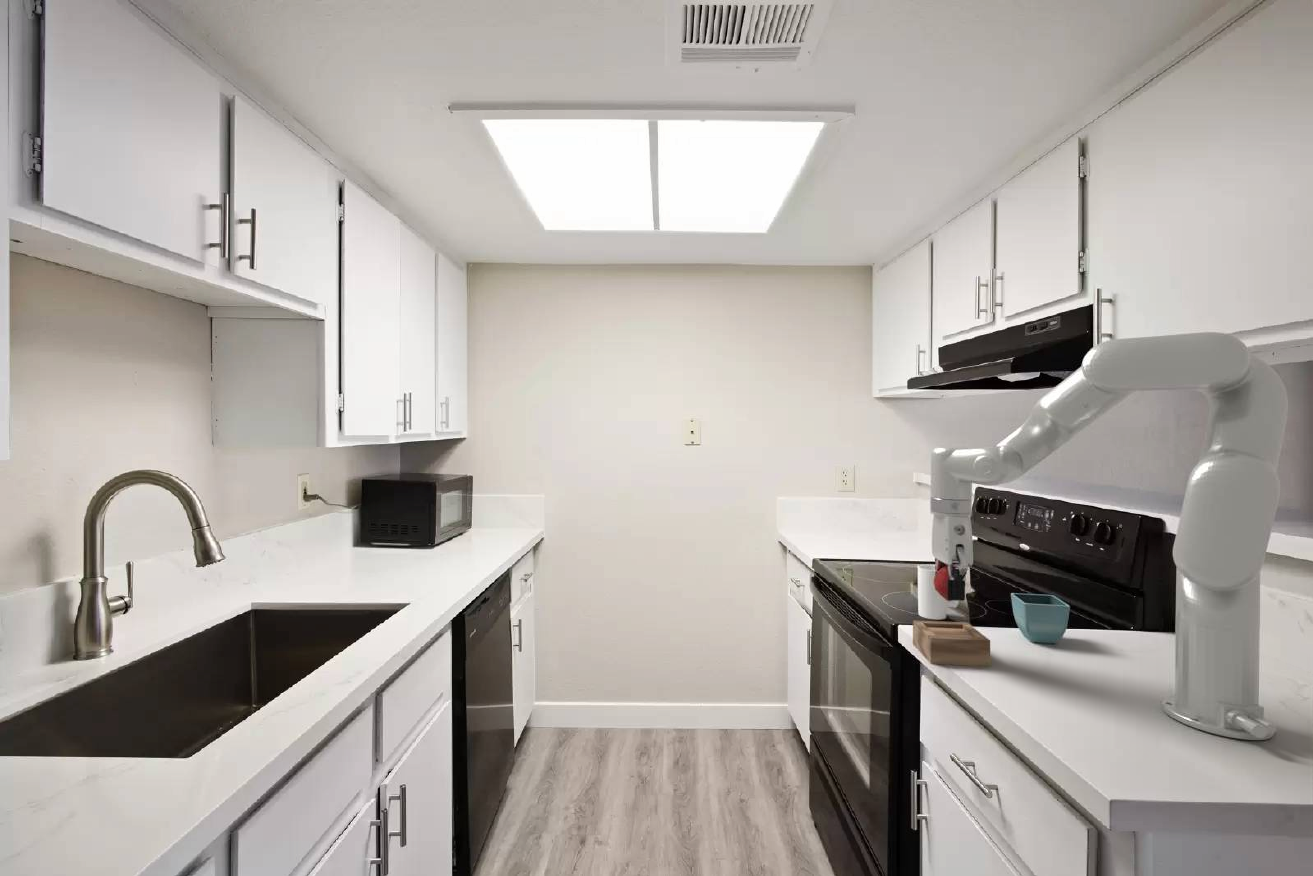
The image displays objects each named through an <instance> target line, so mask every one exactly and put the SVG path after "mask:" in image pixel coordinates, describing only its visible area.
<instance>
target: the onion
mask: <svg viewBox="0 0 1313 876" xmlns="http://www.w3.org/2000/svg"><path fill="white" fill-rule="evenodd" d="M952 564H954V563H952ZM955 569H957V568H953V573H954V571H955ZM947 579H949V572H948V565H946V566H945V567H943V568H941V569H940V570H939V571H938V572H937V573H936V575H935V577H934V587H935V589H936V590H937V592H938V593H939V594H940V595H941V596H942V597H943V598H945V599H946V600H947V601H953V600H948V599H947Z"/></svg>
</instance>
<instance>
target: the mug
mask: <svg viewBox="0 0 1313 876" xmlns="http://www.w3.org/2000/svg"><path fill="white" fill-rule="evenodd" d="M935 572H938V571H935V564H921V565H920V564H919V565H917V606H918V607H917V609H918V610H917V611H918V612H917V614H918V616H920V617H922V618H924V619H929V620H933V621H939V620H945V619H947V609H948V608H954V609H955V608H957V607H958V605H959V603H960V601H957V600H952V601H947V600H946V599H945V598H943V597H942V596H941V595H940V594H939V593H938V592H937V591H936V590H935V587H934V577H935Z"/></svg>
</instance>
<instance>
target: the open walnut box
mask: <svg viewBox="0 0 1313 876" xmlns="http://www.w3.org/2000/svg"><path fill="white" fill-rule="evenodd" d="M912 645H913V646H914V647H915V648H916V649H917V650H918V651H919V652H920V654H921V655H922V656H923V657H924V658H925V659H926V661H927V662H928V663H930V664H936V665H937V664H938V665H952V666H953V665H954V666H955V665H956V666H959V665H960V666H972V667H974V666H977V667H991V640H990V639H989V638H988V637H986V636H985V635H983V634H982V633H981V631H978V630H977V629H976V628H975V627H973V626H972V625H971V624H969V623H968V622H961V621H959V622H958V621H957V622H955V621H939V620H912Z"/></svg>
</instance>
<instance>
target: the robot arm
mask: <svg viewBox="0 0 1313 876" xmlns="http://www.w3.org/2000/svg"><path fill="white" fill-rule="evenodd" d="M1178 390H1181V391H1182V390H1183V391H1184V390H1185V391H1186V390H1194V391H1197V392H1199V393H1202V394H1203V395H1204V396H1205V397H1206V399H1207V400H1208V402H1209V403H1208V404H1209V415H1208V419H1207V424H1206V428H1205V429H1206V430H1205V436H1204V439H1203V443H1202V444H1203V445H1202V449H1201V453H1200V456H1199V458H1198V459H1199V460H1198V462H1197V464H1196V465H1195V466H1194V467H1193V469H1192V470H1191V472H1190V473H1189V478H1188V481H1187V484H1186V489H1185V493H1184V498H1183V503H1182V508H1181V512H1180V516H1179V521H1178V524H1177V525H1178V526H1177V530H1176V535H1175V537H1174V538H1175V539H1174V543H1173V546H1172V558H1173V562H1174V564H1175V566H1176V585H1175V587H1176V589H1175V593H1176V594H1175V641H1174V642H1175V644H1174V646H1175V648H1174V650H1175V651H1174V652H1175V655H1174V659H1175V661H1174V663H1175V664H1174V665H1175V667H1174V695H1172V696H1167V697H1165V698H1163V699H1162V701H1161V702H1162V705H1161V707H1162V710H1163V711H1164V713H1166V714H1167V715H1168V716H1169V717H1170V718H1172V719H1174V720H1176V721H1178V722H1180V723H1182V724H1184V725H1187V726H1190V727H1192V728H1194V729H1196V730H1201V731H1202V732H1203V731H1204V732H1207V733H1210V734H1214V735H1217V736H1221V737H1225V738H1231V739H1238V740H1246V741H1264V740H1268V739H1270V738H1273V736H1274V734H1275V733H1276V732H1277V729H1278V727H1277V725H1276V724H1274V723H1272V722H1271V721H1269V720H1267V719H1265V718H1264V717H1265V716H1264V714H1265V713H1264V711H1265V710H1264V709H1265V708H1264V706H1262V705H1260V632H1261V630H1260V629H1261V571H1262V569H1263V565H1264V562H1265V557H1266V555H1267V551H1268V550H1267V549H1268V546H1269V542H1270V538H1271V535H1272V530H1273V525H1274V522H1275V517H1276V514H1277V509H1278V505H1279V501H1280V495H1281V482H1280V478H1279V476H1278V467H1279V459H1280V456H1281V452H1282V447H1283V443H1284V435H1285V431H1286V425H1287V420H1288V412H1289V411H1288V410H1289V401H1288V400H1289V399H1288V398H1289V397H1288V394H1287V393H1288V392H1287V389H1286V387H1285V385H1284V383H1283V381H1282V379H1281V377H1280V376H1279V374H1277V372H1276V371H1275V370H1274V369H1273V368H1272V366H1270V365H1269V364H1268V363H1267V362H1266V361H1265V360H1263V359H1262V358H1260V357H1258V356H1257V355H1255V354H1253V353H1252V352H1250V351H1249V348H1248V347H1247V345H1246V344H1245V343H1244V342H1243V341H1242V340H1240V339H1239V338H1238V337H1236V336H1234V335H1231V334H1228V333H1224V332H1217V331H1215V332H1214V331H1202V332H1191V333H1180V334H1169V335H1168V334H1167V335H1154V336H1144V337H1143V336H1142V337H1127V338H1117V339H1116V338H1115V339H1109V340H1106V341H1103V342H1101V343H1098V344H1096V345H1095V346H1093V347H1092V348H1090V350H1089V351H1087V353H1086V354H1085V355H1084V357H1083V359H1082V363H1081V366H1080V367H1079V368H1077V369H1076V370H1075V371H1073V372H1072V373H1071V374H1070V375H1069V376H1067V377H1066V378H1065V379H1064V380H1062V381H1061V382H1060V383H1058V384H1057V385H1056V386H1055V387H1053V388H1052V389H1051V390H1050V391H1049V392H1047V393H1046V394H1044V395H1043V396H1042V397H1040V398H1039V400H1038V401H1036V403H1035V405H1034V407H1033V409H1032V411H1031V413H1030V415H1029V417H1028V418H1027V419H1026V421H1024V423H1022V425H1020V427H1018V428H1017V429H1016V430H1015V431H1014V432H1012V433H1010V434H1009V435H1008V436H1007V437H1006V438H1005V439H1003V440H1002V441H1001V442H999V443H998V444H997V445H994V446H981V447H974V448H973V447H972V448H969V447H964V446H937V447H934V448H933V449H932V451H931V454H930V455H931V456H930V459H931V460H930V501H929V503H930V504H929V505H930V509H929V510H930V514H931V515H933V517H932V518H933V519H932V526H931V527H932V531H931V553H932V556H933V557H934V562H935V564H934V565H935V571H939V570H940V569H941V568H943V567H945V566H946V565H948V572H949V579H947V599H948V600H952V601H953V600H957V601H959V602H960V601H963V602H964V601H965V600H966V579H967V577H966V575H967V574H968V573H967V572H968V570H969V567H971V566H972V565H974V552H973V551H974V547H973V546H974V543H973V529H972V521H971V517H972V515H973V514H972V510H973V509H972V505H973V504H972V502H973V498H972V497H973V484H974V485H982V486H986V487H987V486H988V487H992V486H993V487H995V486H999V485H1003V484H1008V483H1011V482H1014V481H1016V480H1017V479H1019V478H1020V477H1021V476H1023V475H1024V474H1025V473H1027V472H1029V471H1030V470H1031V469H1033V468H1034V467H1036V466H1037V465H1039V464H1040V463H1041V462H1042V461H1044V460H1045V459H1046V458H1047V457H1049V456H1050V455H1052V454H1053V453H1054V452H1055V451H1057V450H1058V449H1059V448H1060V447H1062V446H1063V445H1065V444H1066V443H1068V442H1070V440H1072V439H1073V438H1074V437H1075V436H1077V434H1079V433H1080V432H1082V431H1083V430H1084V429H1086V428H1087V427H1088V426H1089V425H1091V424H1093V422H1095V421H1096V420H1098V419H1099V418H1100V417H1101V416H1103V415H1104V414H1106V413H1107V412H1108V411H1110V410H1111V409H1113V408H1114V407H1116V406H1117V405H1118V404H1120V403H1121V402H1123V401H1124V400H1125V399H1126V398H1128V397H1130V396H1131V395H1132V394H1134V393H1135V392H1138V391H1139V392H1140V391H1145V392H1146V391H1178ZM953 562H954V563H953ZM952 563H953V564H952ZM953 568H956V569H955V571H954V573H953ZM936 573H937V572H935V575H936ZM935 590H936V589H935ZM936 591H937V590H936Z"/></svg>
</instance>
